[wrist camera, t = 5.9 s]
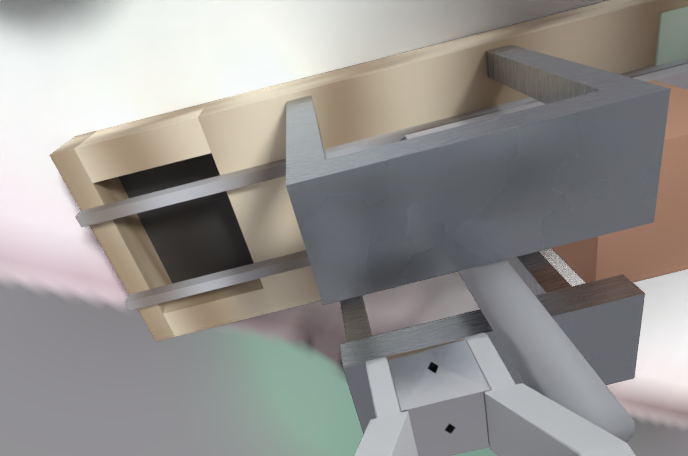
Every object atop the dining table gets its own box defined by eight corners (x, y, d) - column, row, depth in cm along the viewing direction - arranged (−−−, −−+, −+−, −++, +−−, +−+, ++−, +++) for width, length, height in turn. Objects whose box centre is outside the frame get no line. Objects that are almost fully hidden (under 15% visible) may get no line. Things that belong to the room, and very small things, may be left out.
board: (767, -40, 20) (843, -44, 17) (724, 170, 25) (779, 193, 22) (75, 136, 20) (42, 160, 17) (167, 310, 25) (152, 350, 22)
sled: (751, 47, 18) (1422, 140, 7) (727, 163, 20) (1207, 359, 10) (402, 136, 18) (565, 351, 8) (419, 240, 21) (561, 517, 10)
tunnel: (510, 44, 18) (670, 88, 10) (518, 246, 22) (634, 378, 15) (286, 101, 18) (285, 185, 10) (340, 291, 22) (366, 443, 15)
